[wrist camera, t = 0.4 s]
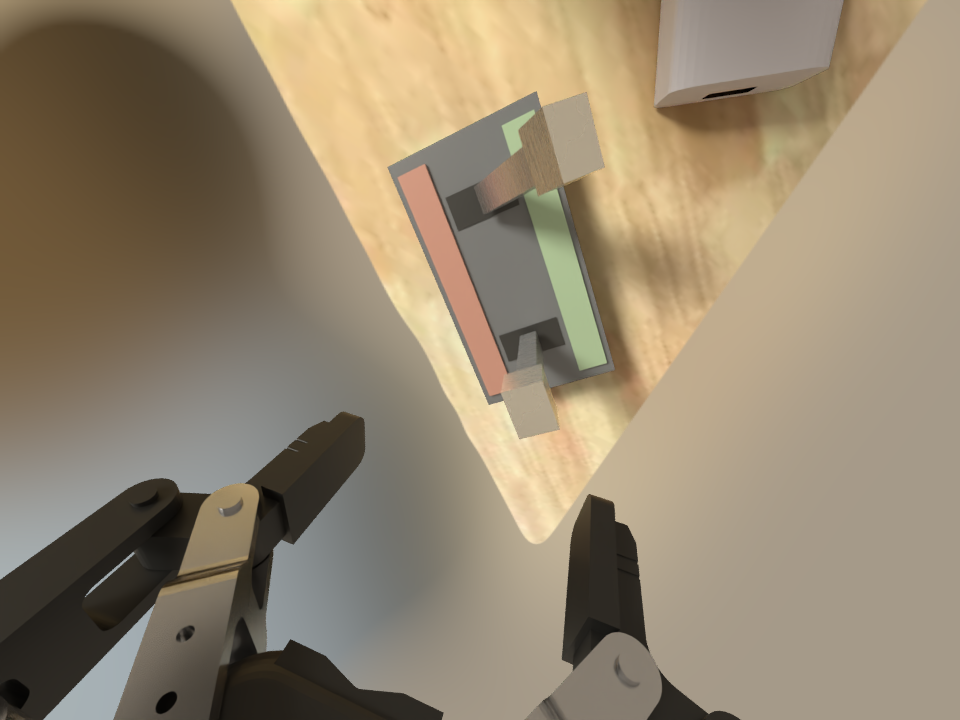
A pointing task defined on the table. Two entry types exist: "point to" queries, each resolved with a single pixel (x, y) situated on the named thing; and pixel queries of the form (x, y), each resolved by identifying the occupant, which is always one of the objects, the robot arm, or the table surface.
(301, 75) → the table surface
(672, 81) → the charger
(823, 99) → the table surface
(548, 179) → the lever on
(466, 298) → the switch box
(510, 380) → the switch lever
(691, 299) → the table surface
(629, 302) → the table surface
